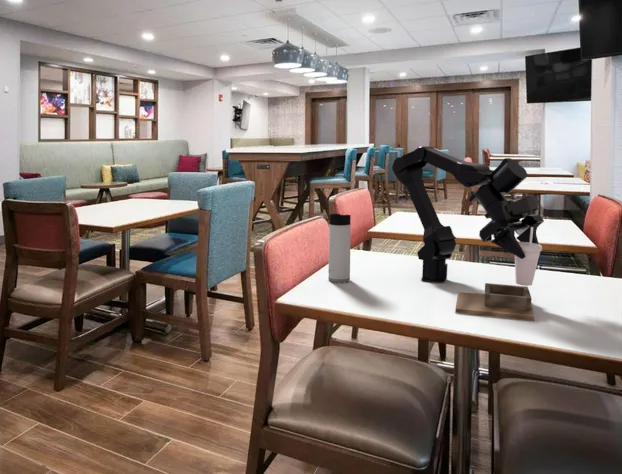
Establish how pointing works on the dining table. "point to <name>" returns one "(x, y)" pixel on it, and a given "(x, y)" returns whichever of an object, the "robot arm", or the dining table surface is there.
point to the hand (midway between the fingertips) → (531, 256)
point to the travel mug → (339, 248)
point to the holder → (497, 302)
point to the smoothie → (527, 262)
